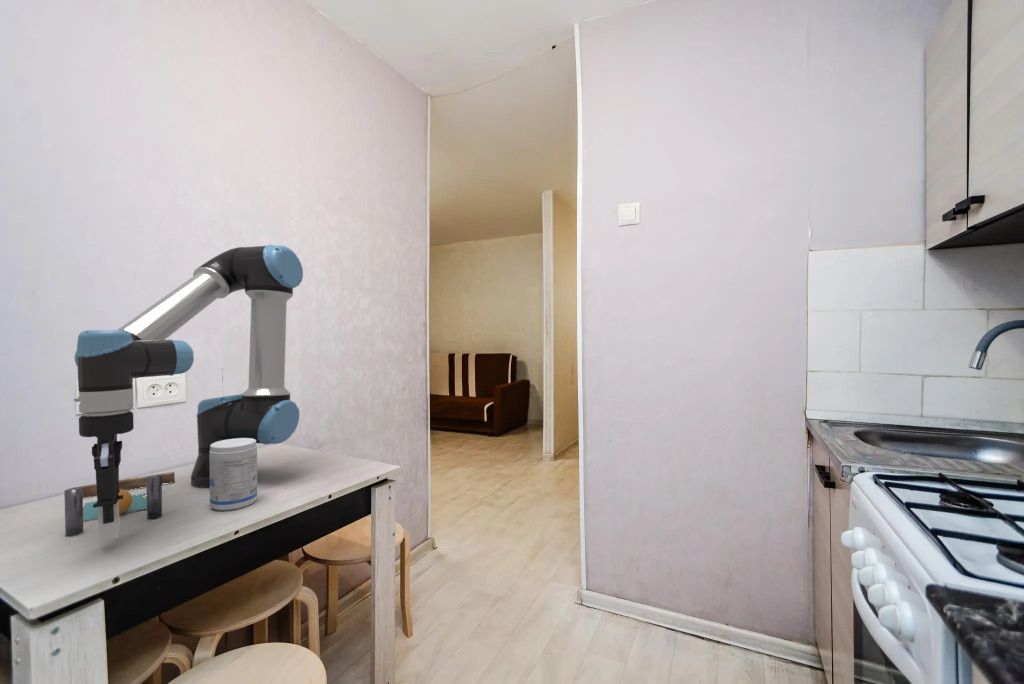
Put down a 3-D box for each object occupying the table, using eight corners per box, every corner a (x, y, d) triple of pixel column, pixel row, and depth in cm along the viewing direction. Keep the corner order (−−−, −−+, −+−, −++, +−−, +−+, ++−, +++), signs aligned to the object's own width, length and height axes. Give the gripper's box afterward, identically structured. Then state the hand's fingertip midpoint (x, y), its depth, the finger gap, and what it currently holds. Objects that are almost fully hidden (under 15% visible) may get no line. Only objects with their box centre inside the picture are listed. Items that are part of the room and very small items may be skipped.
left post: (84, 529, 91) (83, 486, 91) (82, 534, 89) (81, 489, 89) (66, 533, 89) (65, 488, 89) (64, 537, 87) (63, 492, 87)
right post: (162, 514, 99) (161, 474, 99) (162, 517, 97) (161, 476, 97) (147, 517, 97) (146, 476, 97) (146, 520, 95) (145, 479, 95)
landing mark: (160, 491, 114) (160, 490, 114) (159, 507, 103) (159, 506, 103) (85, 504, 105) (85, 503, 105) (75, 523, 94) (75, 522, 94)
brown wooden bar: (174, 480, 122) (174, 471, 122) (174, 482, 121) (174, 473, 121) (73, 497, 110) (73, 487, 110) (72, 499, 108) (71, 489, 108)
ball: (132, 513, 98) (133, 509, 102) (131, 488, 98) (132, 485, 103) (98, 521, 95) (101, 516, 99) (97, 495, 95) (99, 491, 99)
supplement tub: (206, 503, 105) (205, 442, 105) (251, 493, 111) (250, 435, 111) (214, 515, 98) (213, 449, 98) (262, 504, 104) (261, 442, 104)
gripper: (84, 410, 85) (87, 531, 86) (72, 419, 75) (75, 557, 75) (135, 406, 90) (137, 521, 90) (130, 414, 80) (133, 544, 80)
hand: (109, 537), depth 83 cm, fingers closed
